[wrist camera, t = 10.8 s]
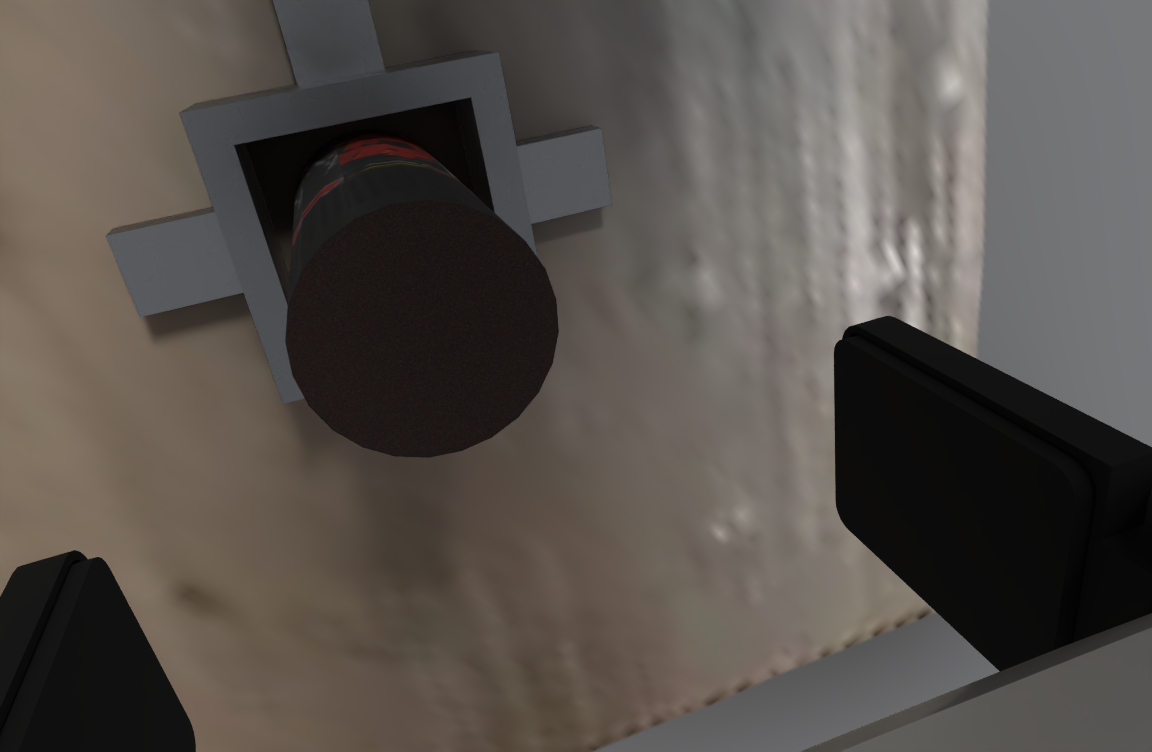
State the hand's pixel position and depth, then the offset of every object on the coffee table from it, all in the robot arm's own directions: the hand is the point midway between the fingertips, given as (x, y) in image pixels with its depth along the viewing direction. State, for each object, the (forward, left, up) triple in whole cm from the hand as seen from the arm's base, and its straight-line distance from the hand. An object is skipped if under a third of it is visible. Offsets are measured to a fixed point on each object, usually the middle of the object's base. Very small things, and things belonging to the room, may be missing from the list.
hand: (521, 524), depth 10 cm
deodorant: (0, 0, -24) cm, 24 cm away
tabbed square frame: (0, 0, -23) cm, 23 cm away
